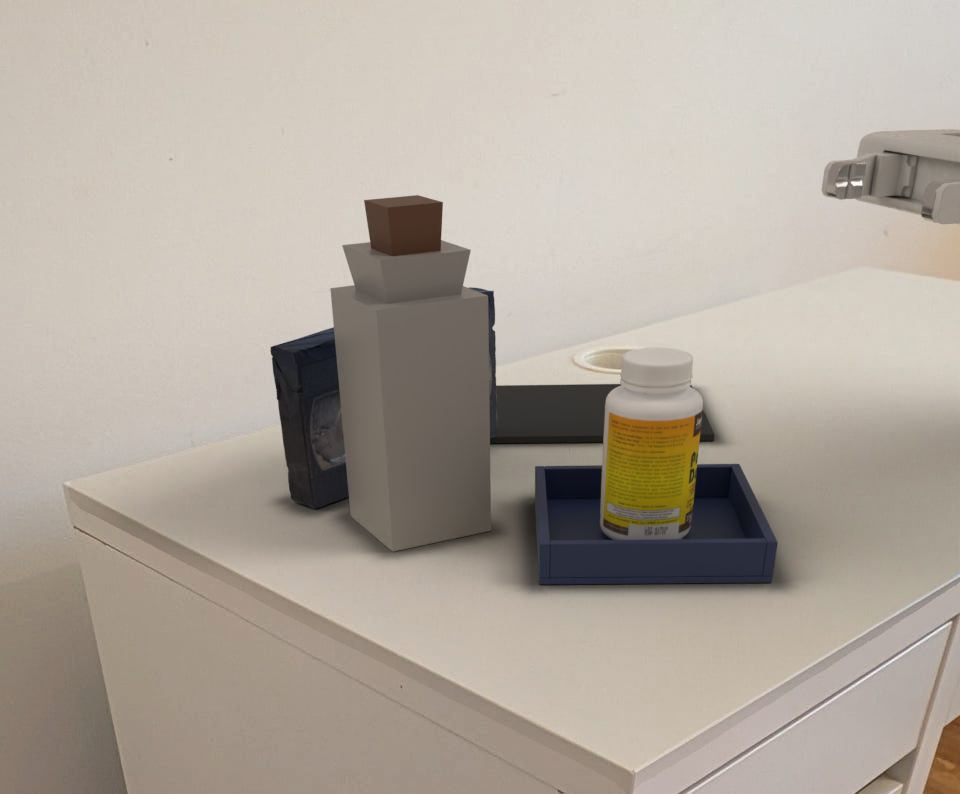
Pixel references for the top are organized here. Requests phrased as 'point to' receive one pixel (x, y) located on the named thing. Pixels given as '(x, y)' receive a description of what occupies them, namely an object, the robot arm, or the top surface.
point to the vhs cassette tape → (328, 413)
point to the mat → (557, 414)
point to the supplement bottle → (650, 447)
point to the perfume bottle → (413, 380)
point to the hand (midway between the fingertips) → (877, 191)
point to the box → (693, 559)
